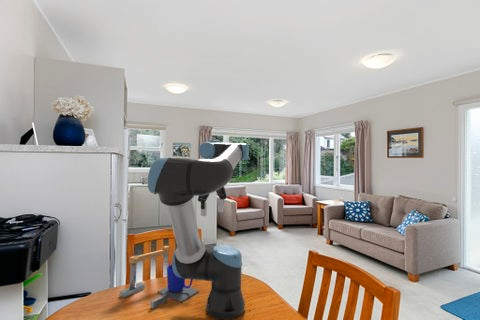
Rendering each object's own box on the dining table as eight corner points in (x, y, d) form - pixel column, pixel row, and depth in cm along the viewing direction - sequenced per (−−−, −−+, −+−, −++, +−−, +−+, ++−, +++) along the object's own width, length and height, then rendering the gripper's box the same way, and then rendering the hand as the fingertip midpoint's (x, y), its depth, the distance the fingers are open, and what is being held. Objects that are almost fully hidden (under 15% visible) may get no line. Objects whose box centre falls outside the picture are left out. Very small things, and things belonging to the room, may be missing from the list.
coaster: (199, 292, 114) (199, 290, 114) (181, 302, 105) (181, 301, 105) (176, 283, 122) (176, 282, 122) (157, 292, 113) (157, 291, 113)
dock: (169, 299, 107) (170, 269, 107) (149, 310, 99) (151, 277, 99) (140, 286, 117) (141, 259, 118) (119, 296, 109) (120, 266, 109)
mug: (188, 297, 109) (189, 273, 109) (162, 292, 111) (163, 269, 112) (196, 288, 117) (197, 265, 117) (171, 284, 119) (172, 262, 120)
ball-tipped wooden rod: (165, 251, 127) (165, 245, 127) (169, 253, 124) (170, 247, 124) (127, 262, 112) (127, 254, 112) (131, 264, 110) (131, 256, 110)
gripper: (222, 170, 142) (221, 209, 142) (191, 171, 121) (189, 216, 121) (233, 171, 139) (232, 211, 138) (203, 171, 117) (201, 218, 117)
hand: (212, 213), depth 130 cm, fingers open, 13 cm apart
